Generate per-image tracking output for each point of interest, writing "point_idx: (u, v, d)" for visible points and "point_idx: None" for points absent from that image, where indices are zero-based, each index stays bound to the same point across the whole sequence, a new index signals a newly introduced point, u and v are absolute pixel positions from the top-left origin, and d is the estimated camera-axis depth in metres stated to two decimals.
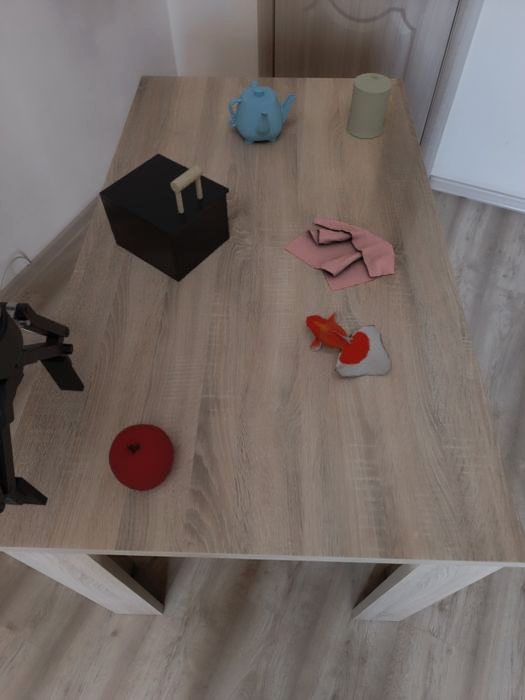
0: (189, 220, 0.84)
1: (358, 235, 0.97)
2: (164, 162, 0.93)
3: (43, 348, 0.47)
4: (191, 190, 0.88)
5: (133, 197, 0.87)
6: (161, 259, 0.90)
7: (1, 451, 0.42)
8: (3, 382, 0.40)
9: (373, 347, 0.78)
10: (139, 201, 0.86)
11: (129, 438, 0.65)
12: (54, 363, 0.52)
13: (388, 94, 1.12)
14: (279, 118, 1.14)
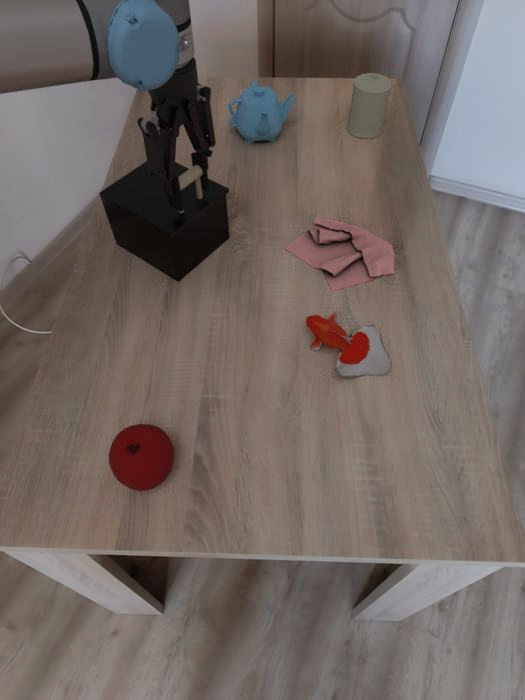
0: (189, 220, 0.84)
1: (358, 235, 0.97)
2: None
3: (200, 129, 0.76)
4: (191, 190, 0.88)
5: (133, 197, 0.87)
6: (161, 259, 0.90)
7: (169, 152, 0.73)
8: (176, 109, 0.69)
9: (373, 347, 0.78)
10: (139, 201, 0.86)
11: (129, 438, 0.65)
12: (197, 159, 0.81)
13: (388, 94, 1.12)
14: (279, 118, 1.14)
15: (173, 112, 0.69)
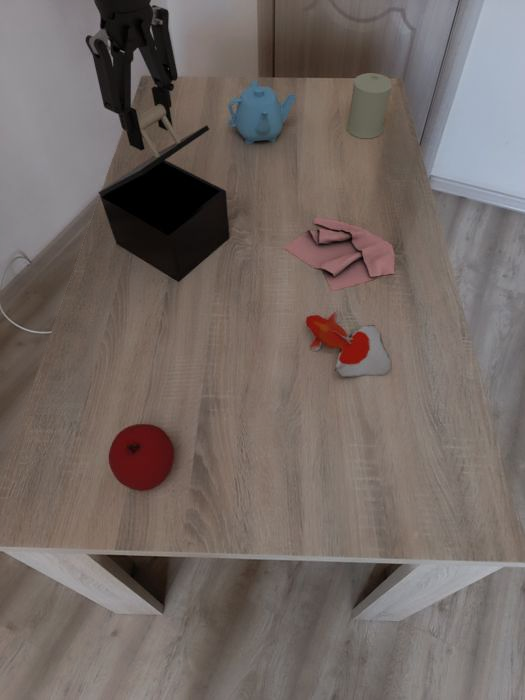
0: (163, 156, 0.76)
1: (358, 235, 0.97)
2: (159, 152, 0.92)
3: (158, 57, 0.71)
4: (173, 145, 0.83)
5: (122, 177, 0.84)
6: (161, 259, 0.90)
7: (123, 78, 0.68)
8: (127, 28, 0.64)
9: (373, 347, 0.78)
10: (126, 175, 0.83)
11: (129, 438, 0.65)
12: (158, 93, 0.76)
13: (388, 94, 1.12)
14: (279, 118, 1.14)
15: (125, 31, 0.65)
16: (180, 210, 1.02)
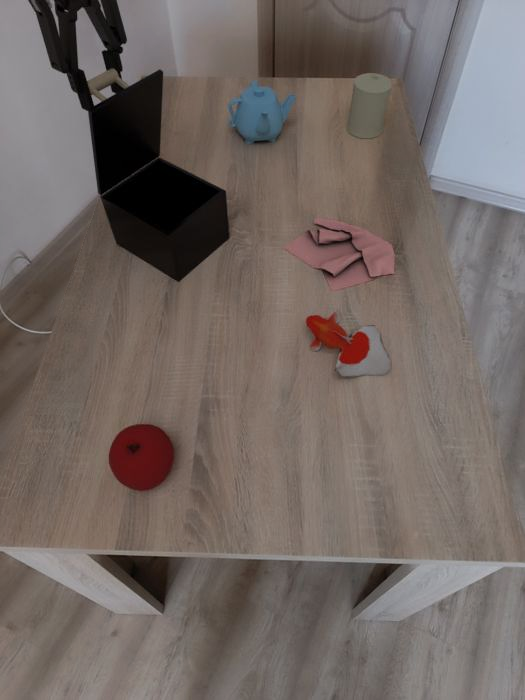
0: (111, 96, 0.74)
1: (358, 235, 0.97)
2: None
3: (105, 19, 0.73)
4: None
5: None
6: (161, 259, 0.90)
7: (68, 38, 0.70)
8: None
9: (373, 348, 0.78)
10: None
11: (129, 438, 0.65)
12: (108, 56, 0.77)
13: (388, 94, 1.12)
14: (279, 118, 1.14)
15: None
16: (180, 210, 1.02)
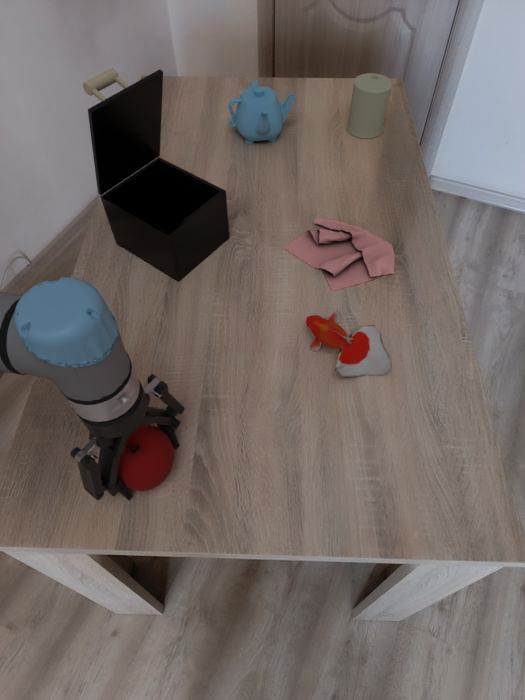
0: (111, 96, 0.74)
1: (358, 235, 0.97)
2: None
3: (160, 416, 0.63)
4: None
5: None
6: (161, 259, 0.90)
7: (110, 467, 0.60)
8: None
9: (373, 348, 0.78)
10: None
11: (129, 439, 0.65)
12: (163, 427, 0.68)
13: (388, 94, 1.12)
14: (279, 118, 1.14)
15: None
16: (180, 210, 1.02)
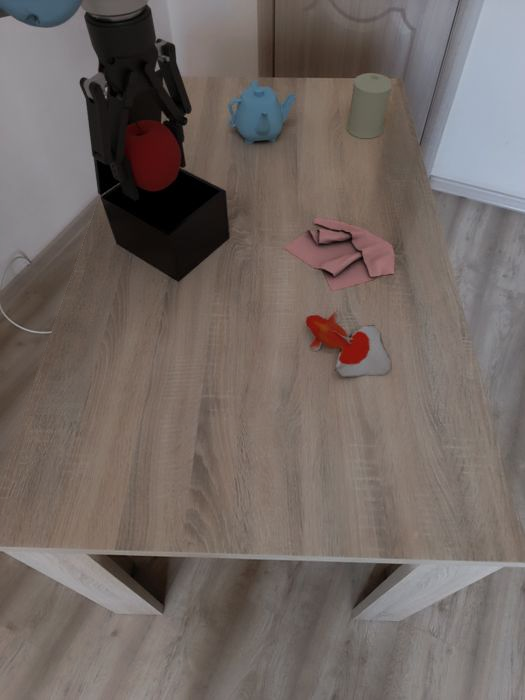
0: None
1: (358, 235, 0.97)
2: None
3: (167, 94, 0.64)
4: None
5: None
6: (161, 259, 0.90)
7: (118, 125, 0.60)
8: (129, 72, 0.57)
9: (373, 348, 0.78)
10: None
11: (137, 126, 0.66)
12: (170, 128, 0.69)
13: (388, 94, 1.12)
14: (279, 118, 1.14)
15: (126, 76, 0.57)
16: (180, 210, 1.02)
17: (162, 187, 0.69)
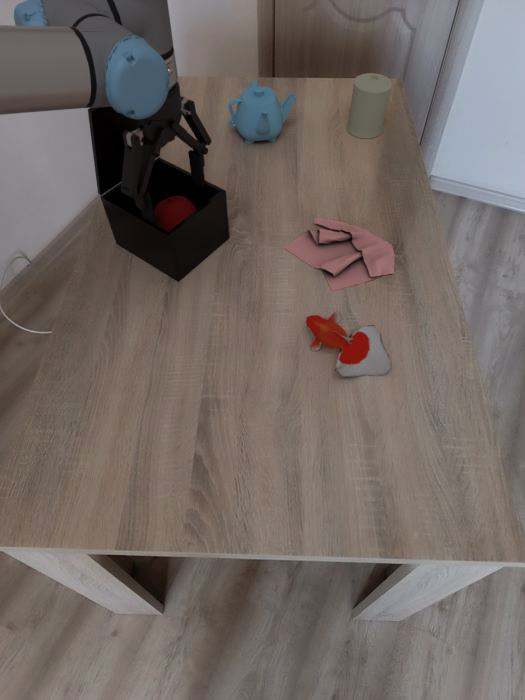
0: None
1: (358, 235, 0.97)
2: None
3: (191, 136, 0.81)
4: None
5: None
6: (161, 259, 0.90)
7: (146, 167, 0.77)
8: (162, 128, 0.74)
9: (373, 348, 0.78)
10: None
11: (167, 200, 0.92)
12: (194, 156, 0.86)
13: (388, 94, 1.12)
14: (279, 118, 1.14)
15: (158, 132, 0.75)
16: None
17: None
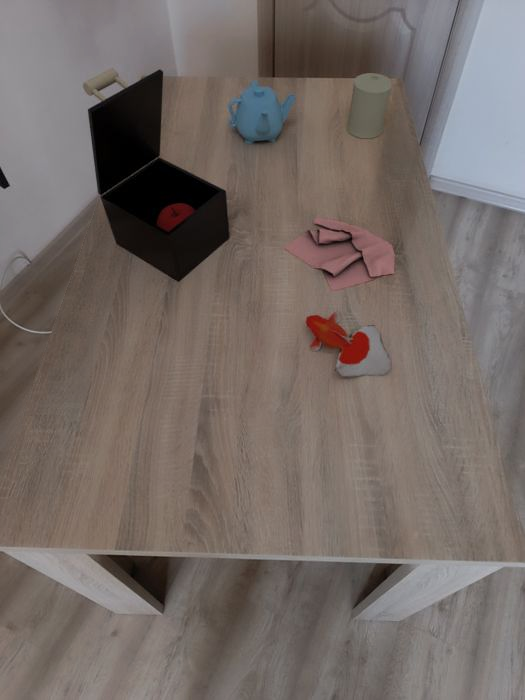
0: (111, 96, 0.74)
1: (358, 235, 0.97)
2: None
3: None
4: None
5: None
6: (161, 259, 0.90)
7: None
8: None
9: (373, 348, 0.78)
10: None
11: (171, 209, 0.91)
12: None
13: (388, 94, 1.12)
14: (279, 118, 1.14)
15: None
16: None
17: None
